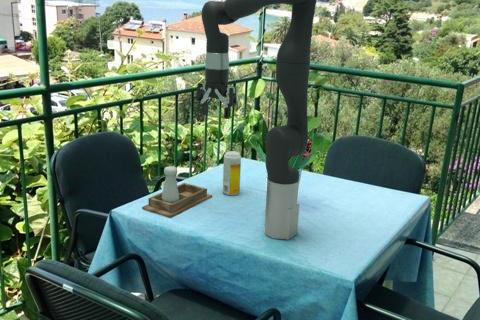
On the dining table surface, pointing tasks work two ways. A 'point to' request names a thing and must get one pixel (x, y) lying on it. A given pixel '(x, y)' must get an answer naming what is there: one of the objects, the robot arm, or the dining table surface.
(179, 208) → the slot caddy
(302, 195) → the dining table surface
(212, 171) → the dining table surface
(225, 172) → the white yellow canister
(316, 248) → the dining table surface
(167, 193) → the salt shaker
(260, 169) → the dining table surface
